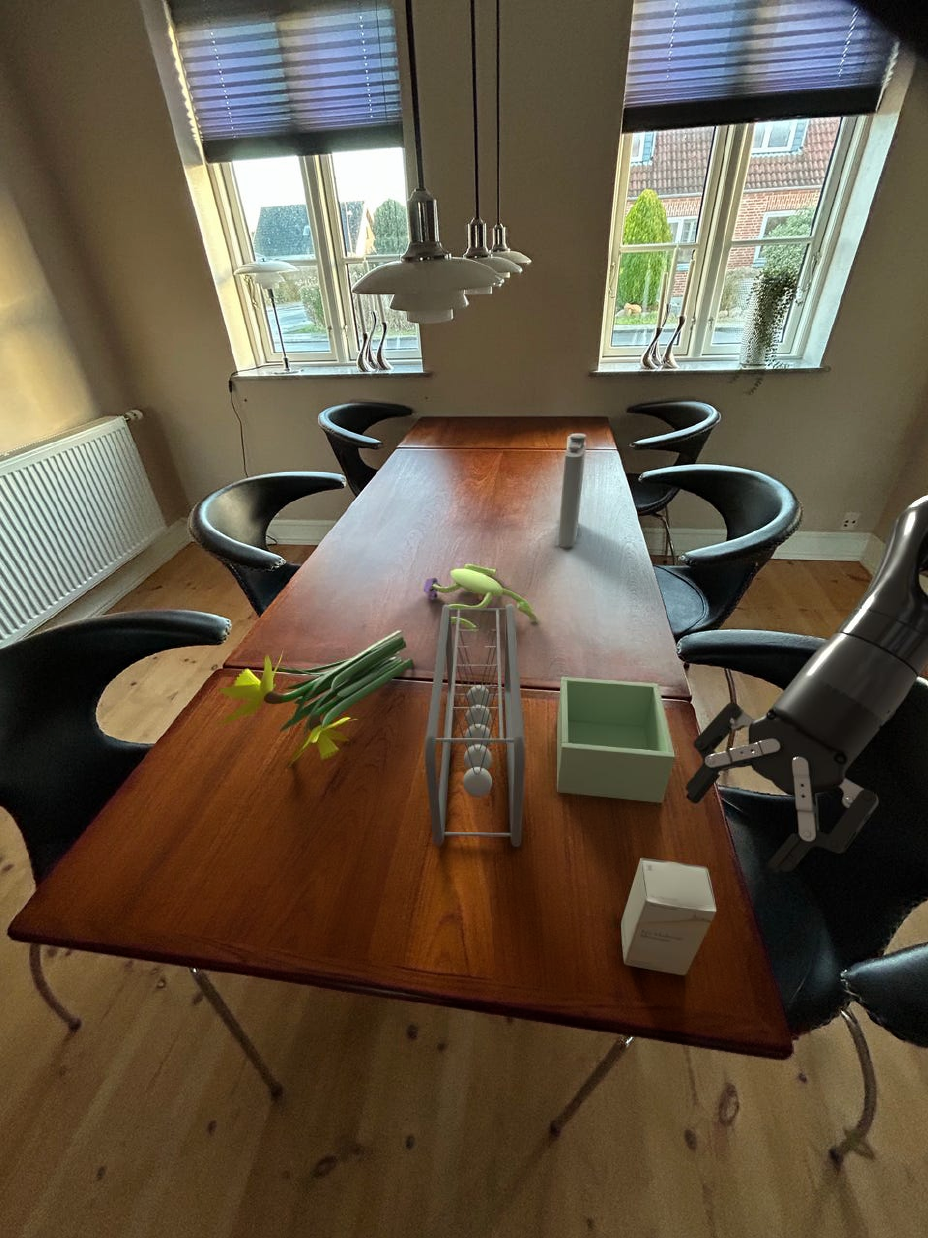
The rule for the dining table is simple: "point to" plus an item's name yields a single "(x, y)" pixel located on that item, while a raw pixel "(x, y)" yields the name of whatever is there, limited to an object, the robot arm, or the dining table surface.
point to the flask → (571, 489)
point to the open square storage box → (613, 740)
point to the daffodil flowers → (363, 679)
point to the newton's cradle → (476, 727)
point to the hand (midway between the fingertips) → (729, 833)
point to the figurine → (475, 591)
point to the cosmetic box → (666, 915)
